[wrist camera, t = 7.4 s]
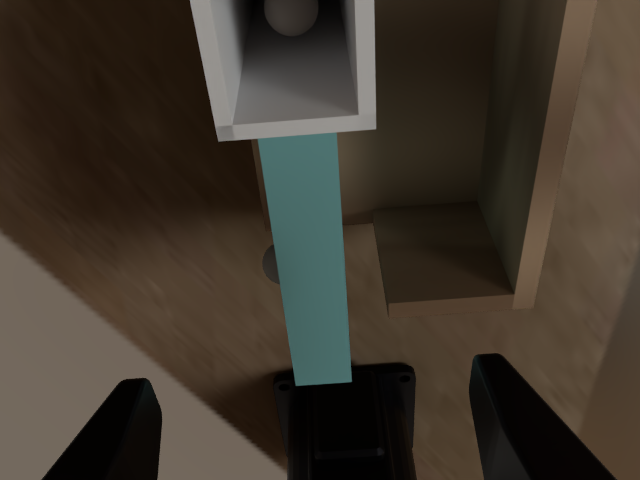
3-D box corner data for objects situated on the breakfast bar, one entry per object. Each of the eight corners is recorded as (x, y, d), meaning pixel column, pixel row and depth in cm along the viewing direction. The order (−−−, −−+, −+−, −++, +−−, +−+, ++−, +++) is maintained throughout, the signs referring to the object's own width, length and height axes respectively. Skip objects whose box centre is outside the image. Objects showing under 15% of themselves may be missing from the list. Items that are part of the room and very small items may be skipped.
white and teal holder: (357, 213, 21) (379, 380, 15) (272, 219, 21) (263, 388, 15) (344, -120, 14) (373, -41, 9) (223, -109, 14) (178, -24, 9)
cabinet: (482, 189, 22) (532, 308, 17) (267, 205, 22) (259, 327, 17) (525, -180, 15) (628, -149, 10) (211, -152, 15) (173, -109, 11)
